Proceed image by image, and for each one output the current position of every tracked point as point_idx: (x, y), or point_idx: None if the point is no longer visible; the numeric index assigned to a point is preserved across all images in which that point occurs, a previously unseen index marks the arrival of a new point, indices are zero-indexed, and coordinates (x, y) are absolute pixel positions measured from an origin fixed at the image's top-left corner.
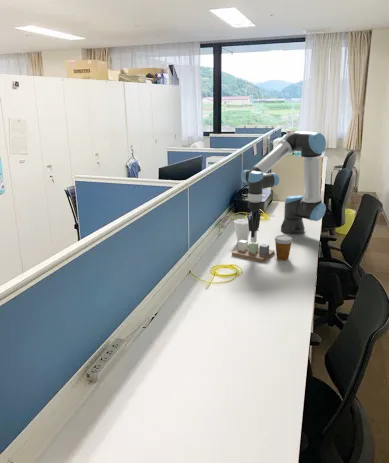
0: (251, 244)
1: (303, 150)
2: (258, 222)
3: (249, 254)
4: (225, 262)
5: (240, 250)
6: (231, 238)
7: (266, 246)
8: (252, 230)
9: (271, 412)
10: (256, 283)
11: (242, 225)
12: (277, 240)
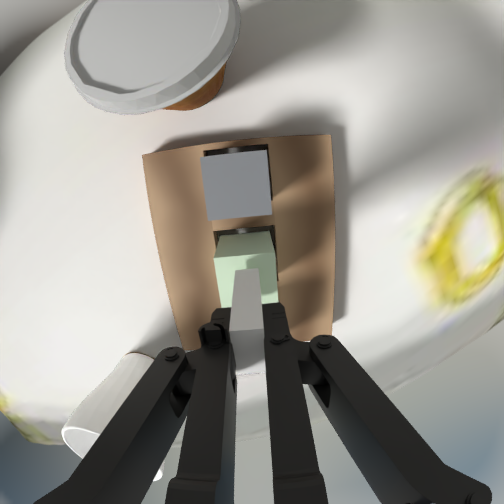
0: (276, 283)
1: None
2: (153, 411)
3: (310, 247)
4: (412, 297)
5: None
6: None
7: (249, 156)
8: (340, 349)
9: None
10: (498, 88)
11: None
12: (228, 38)
